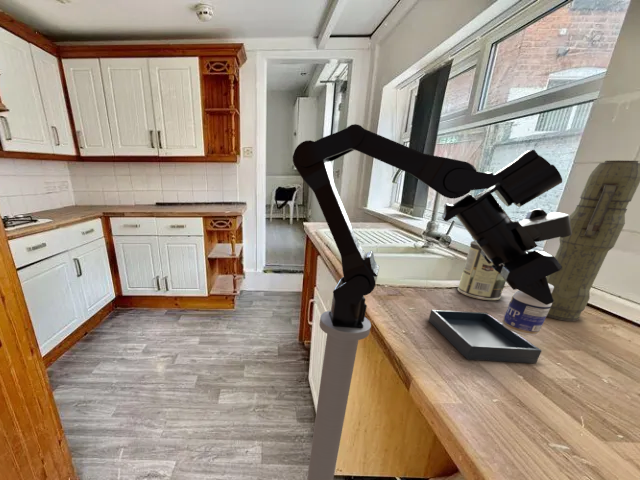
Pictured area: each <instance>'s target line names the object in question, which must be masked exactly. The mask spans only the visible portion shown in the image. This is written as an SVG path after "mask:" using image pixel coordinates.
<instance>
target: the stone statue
mask: <svg viewBox="0 0 640 480" xmlns="http://www.w3.org/2000/svg"><path fill="white" fill-rule="evenodd" d="M639 185H640V162H639V160H604V162H599V163H597V165H596V166H595V167H594V169H593V170H592V171H591V173H590V174H589V175H588V177H587V179H586V182H585V184H584V186H583V189H582V192H581V195H580V197H579V198H580V200H579V202H578V204H577V205H576V206H575V208H574V210H573V212H572V213H570V214H569V218H570V224H571V231H572V235H570V236H567V237H563V238H562V237H559V238H558V239H559V240H558V241H559V246H558V248H557V250H556V253H555V256H554V257H555V258H556V259H557V261H558V262H559V263H560V265H561V266H562V268H561V269H560V271H557V272H555V273H553V274H551V275H549V276H546V278H547V282H548V283H549V284H551V285H553V286H554V289H553V291H552V293H551V294H552V297H553V300H554V302H553V303H552V305H551V308H550V310H549V312H548V314H547V316H546V317H548V318H550V319H554V320H558V321H567V322H577V321H578V320H579V319H580V316H581V314H582V313H583V311H584V310H586V307H587V305H588V303H589V301H590V297H591V296H590V291H591V289H592V286H593V284H594V282H595V280H596V278H597V276H598V274H599V272H600V270H601V268H602V265H603V264H604V261H605V259H606V257H607V255H608V253H609V251H611V250H612V249H614V247H615V245H616V243H617V241H618V239H619V238H620V234H621V232H622V231H623V228H624V226H625V224H626V213H627V210H628V206H629V203H630V202H632V200H633V198H634V196H635V194H636V192H637V189H638V187H639Z"/></svg>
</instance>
